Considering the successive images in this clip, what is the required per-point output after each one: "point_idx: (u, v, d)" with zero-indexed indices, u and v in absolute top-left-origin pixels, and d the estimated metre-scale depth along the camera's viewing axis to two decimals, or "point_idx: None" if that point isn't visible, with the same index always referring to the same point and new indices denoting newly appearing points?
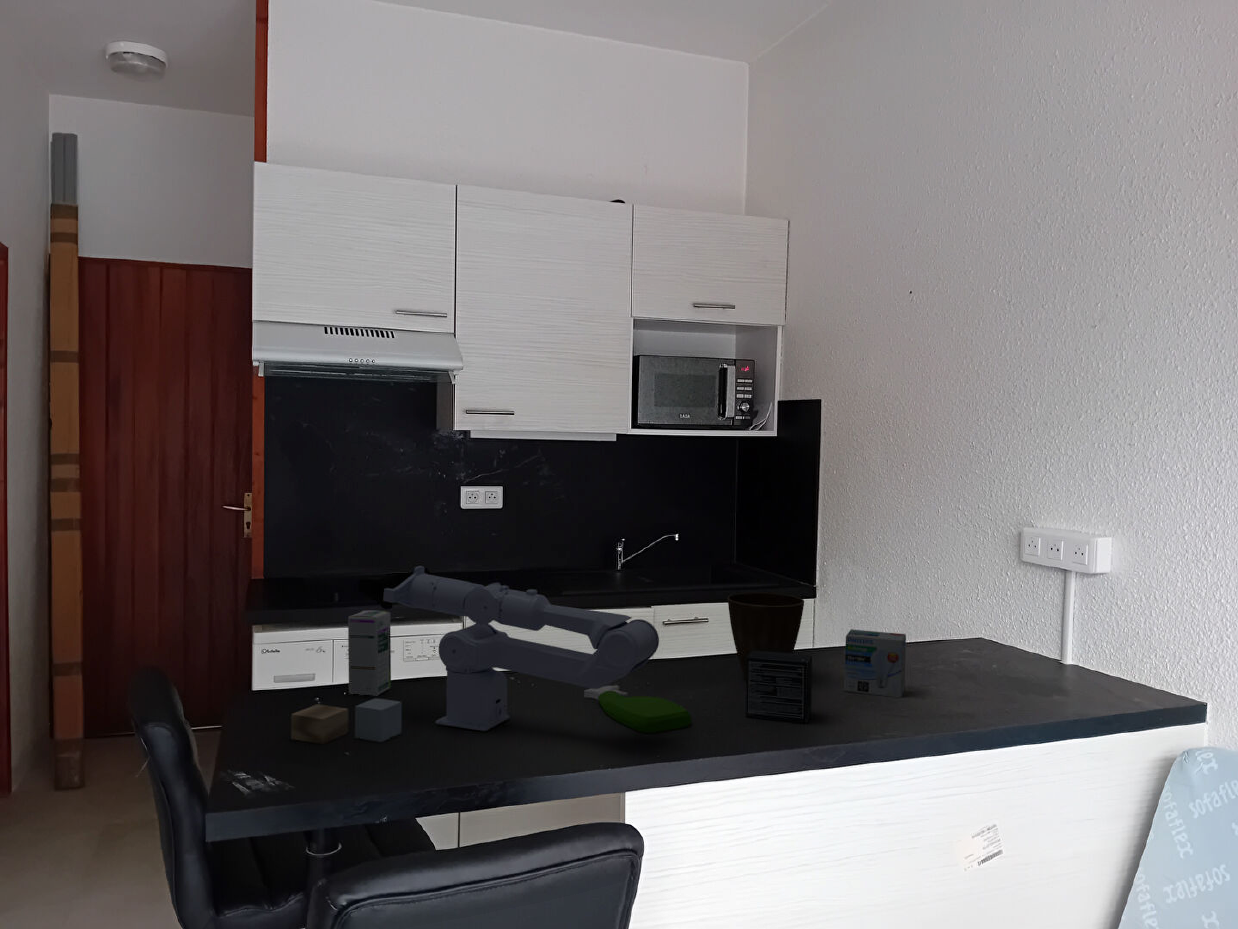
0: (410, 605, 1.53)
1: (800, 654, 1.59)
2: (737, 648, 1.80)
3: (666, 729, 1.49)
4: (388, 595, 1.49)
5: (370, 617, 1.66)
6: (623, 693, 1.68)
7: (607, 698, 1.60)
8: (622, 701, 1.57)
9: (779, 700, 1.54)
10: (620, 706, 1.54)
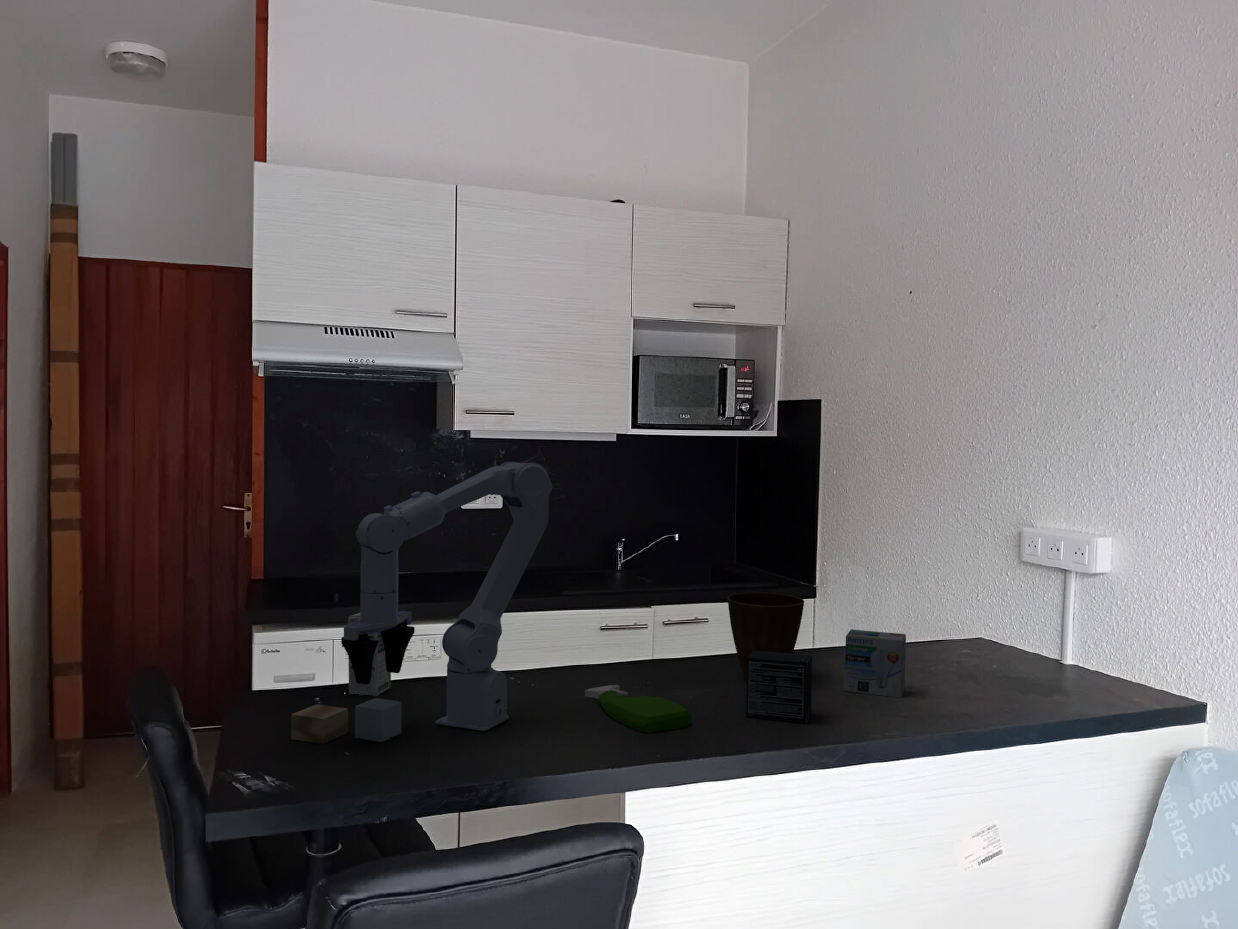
0: (382, 622, 1.41)
1: (800, 654, 1.59)
2: (737, 648, 1.80)
3: (666, 729, 1.49)
4: (348, 634, 1.37)
5: None
6: (623, 693, 1.68)
7: (607, 698, 1.60)
8: (622, 701, 1.57)
9: (779, 700, 1.54)
10: (620, 706, 1.54)
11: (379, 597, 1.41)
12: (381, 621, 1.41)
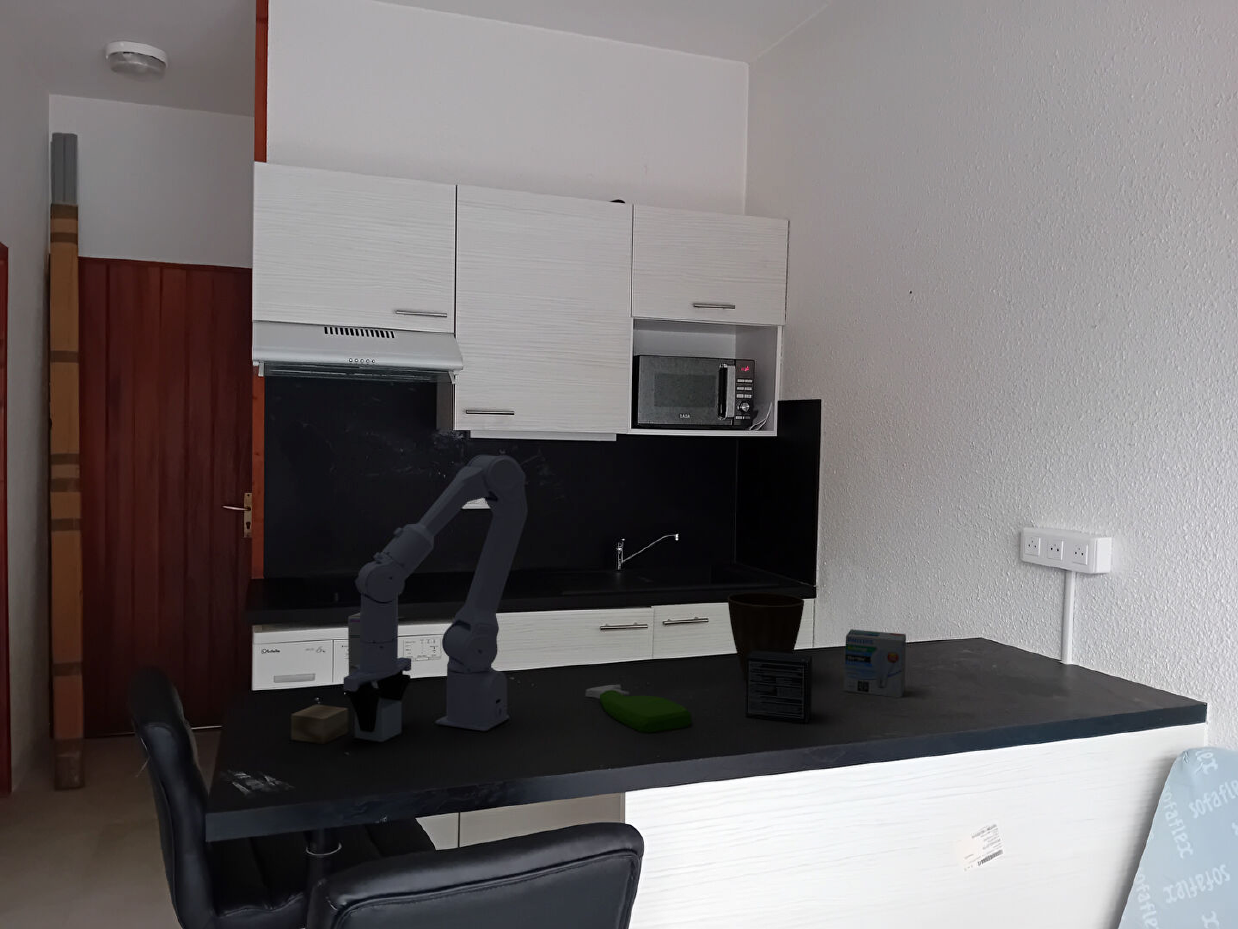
0: (381, 672, 1.41)
1: (800, 654, 1.59)
2: (737, 648, 1.80)
3: (666, 729, 1.49)
4: (348, 684, 1.37)
5: None
6: (624, 692, 1.68)
7: (608, 697, 1.61)
8: (623, 700, 1.58)
9: (779, 700, 1.54)
10: (620, 705, 1.54)
11: (379, 646, 1.41)
12: (381, 670, 1.41)
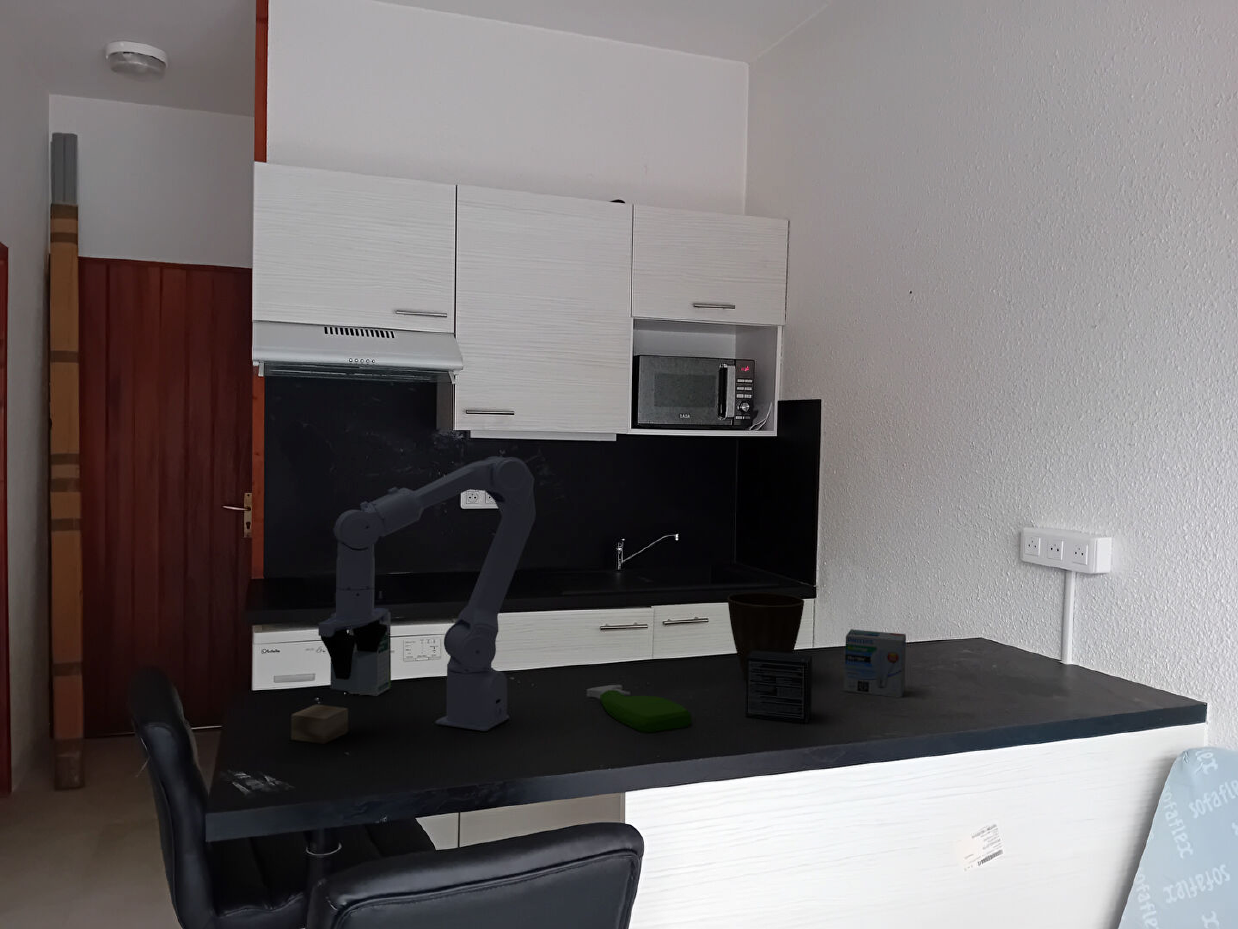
0: (357, 619, 1.41)
1: (800, 654, 1.59)
2: (737, 648, 1.80)
3: (666, 729, 1.49)
4: (323, 630, 1.37)
5: None
6: (625, 692, 1.68)
7: (609, 697, 1.61)
8: (623, 700, 1.58)
9: (779, 700, 1.54)
10: (621, 705, 1.54)
11: (355, 594, 1.41)
12: (356, 618, 1.41)
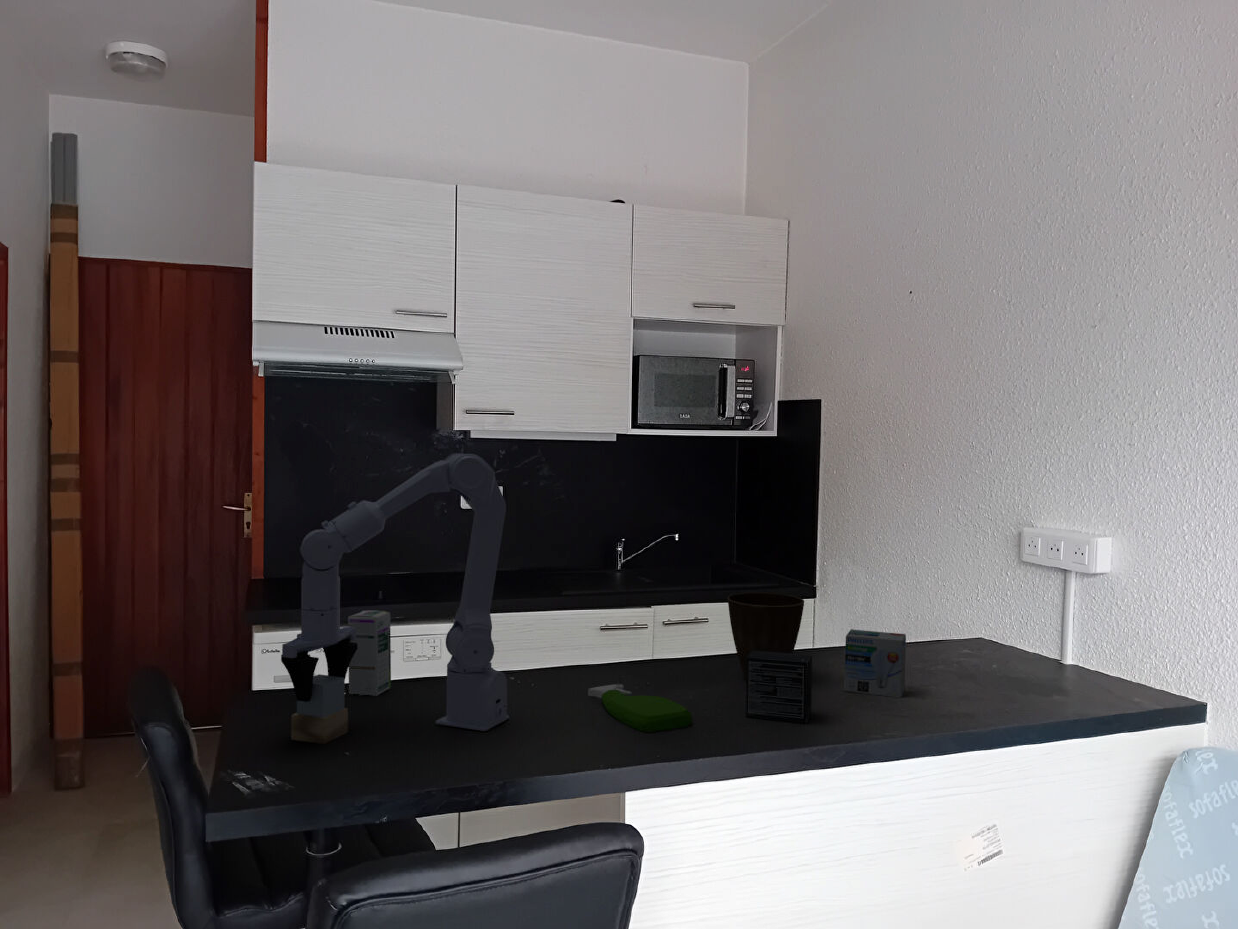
0: (322, 639, 1.41)
1: (800, 654, 1.59)
2: (737, 648, 1.80)
3: (666, 728, 1.49)
4: (287, 651, 1.37)
5: (370, 617, 1.66)
6: (627, 692, 1.68)
7: (610, 697, 1.61)
8: (624, 700, 1.58)
9: (779, 700, 1.54)
10: (621, 705, 1.55)
11: (319, 614, 1.41)
12: (321, 638, 1.41)
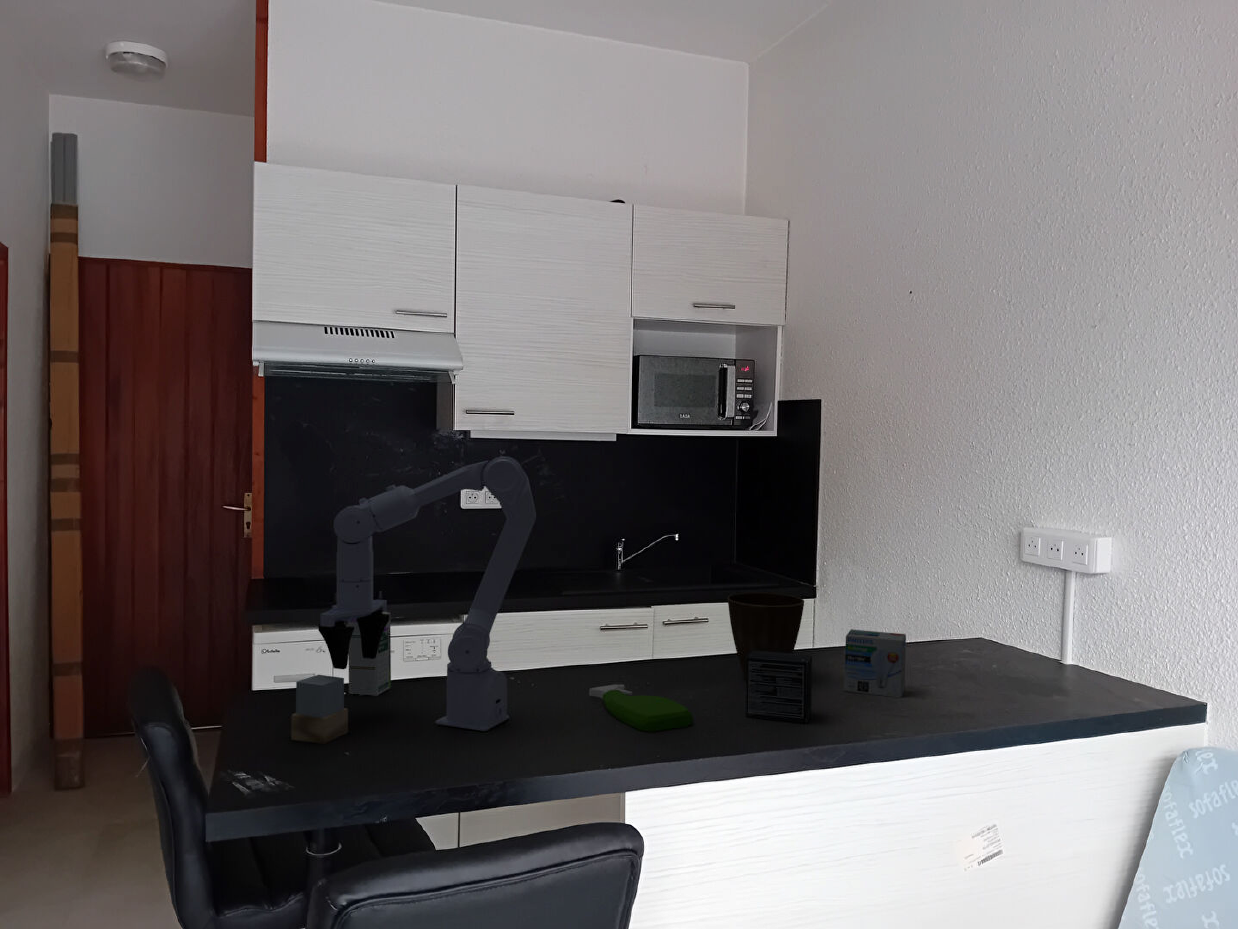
0: (357, 610, 1.47)
1: (800, 654, 1.59)
2: (737, 648, 1.80)
3: (667, 728, 1.49)
4: (325, 620, 1.43)
5: None
6: (628, 692, 1.68)
7: (611, 697, 1.61)
8: (625, 700, 1.58)
9: (779, 700, 1.54)
10: (622, 705, 1.55)
11: (354, 585, 1.47)
12: (357, 608, 1.47)
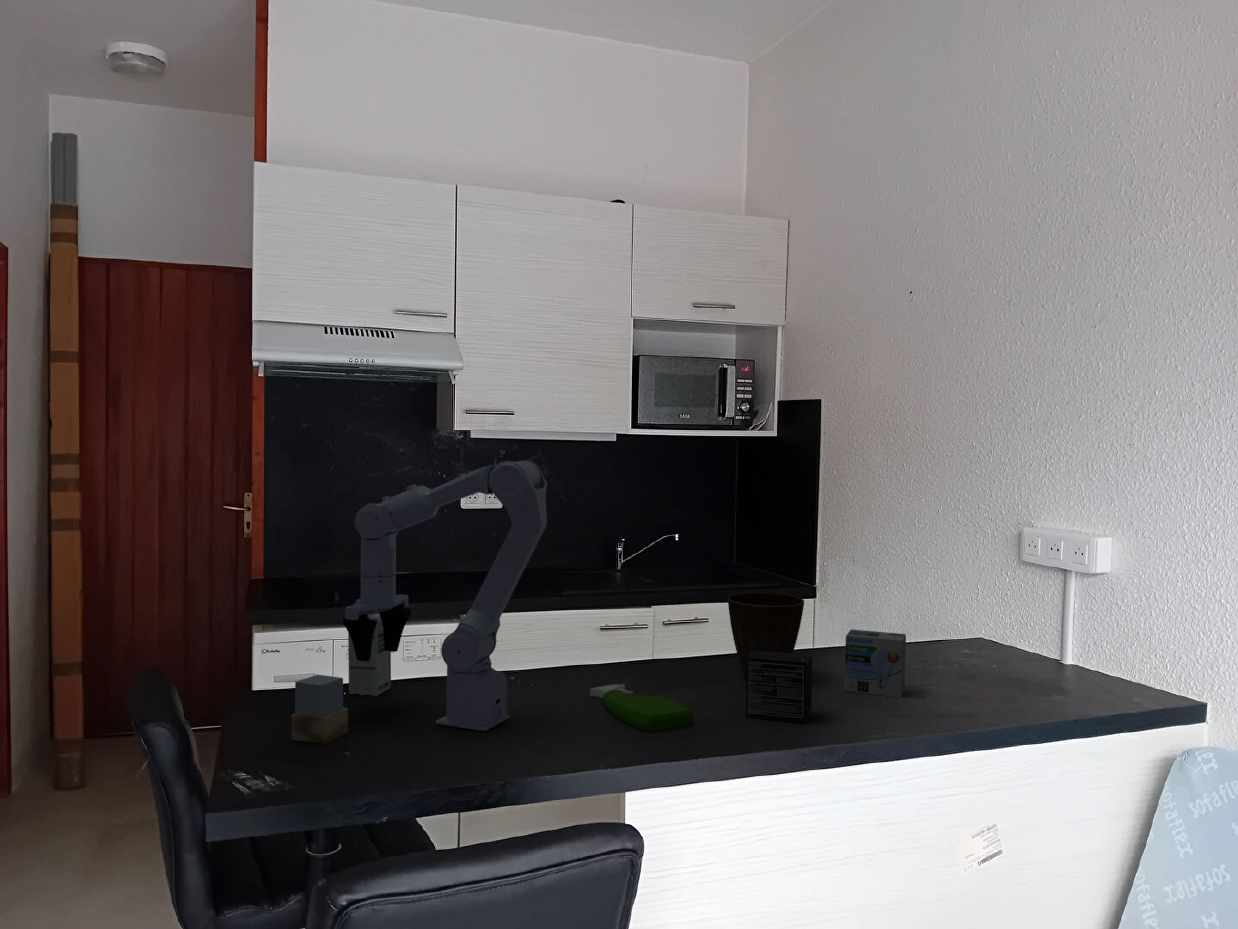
0: (380, 604, 1.52)
1: (800, 654, 1.59)
2: (737, 648, 1.80)
3: (667, 728, 1.49)
4: (349, 614, 1.48)
5: (370, 617, 1.66)
6: (628, 692, 1.68)
7: (611, 697, 1.61)
8: (625, 700, 1.58)
9: (779, 700, 1.54)
10: (623, 705, 1.55)
11: (378, 580, 1.52)
12: (380, 603, 1.52)
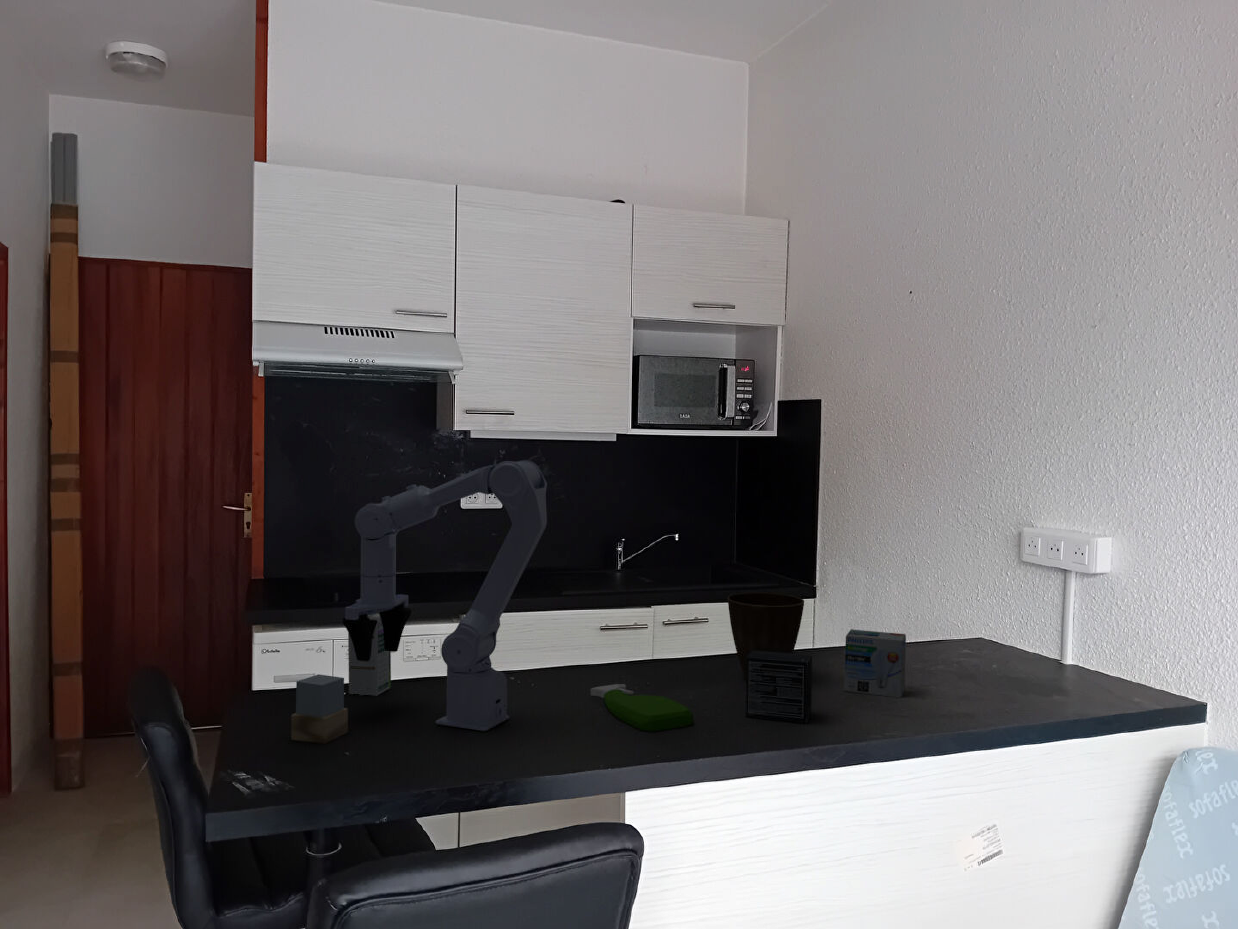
0: (380, 604, 1.52)
1: (800, 654, 1.59)
2: (737, 648, 1.80)
3: (667, 728, 1.49)
4: (349, 614, 1.48)
5: (370, 617, 1.66)
6: (629, 692, 1.68)
7: (612, 696, 1.61)
8: (626, 700, 1.58)
9: (779, 700, 1.54)
10: (623, 704, 1.55)
11: (378, 580, 1.52)
12: (380, 603, 1.52)
